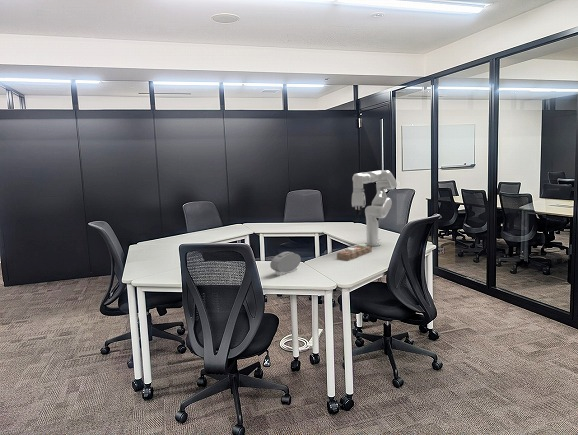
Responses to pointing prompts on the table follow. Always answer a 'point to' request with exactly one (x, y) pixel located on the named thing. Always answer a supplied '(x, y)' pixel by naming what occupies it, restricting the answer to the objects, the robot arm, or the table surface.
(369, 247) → the console
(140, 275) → the table surface
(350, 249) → the cream key
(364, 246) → the sage key
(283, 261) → the alarm clock
